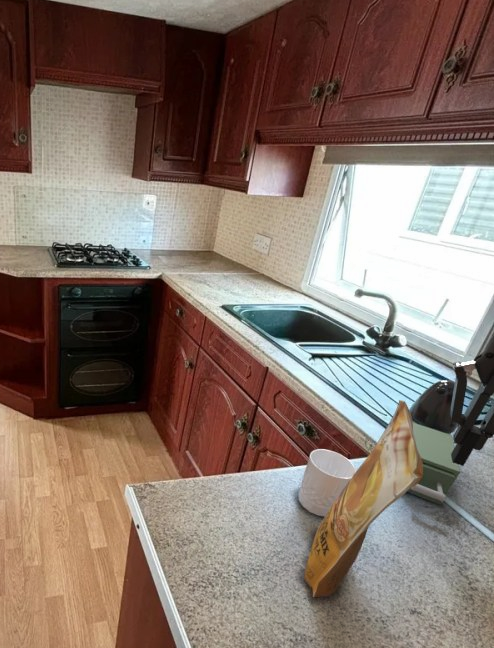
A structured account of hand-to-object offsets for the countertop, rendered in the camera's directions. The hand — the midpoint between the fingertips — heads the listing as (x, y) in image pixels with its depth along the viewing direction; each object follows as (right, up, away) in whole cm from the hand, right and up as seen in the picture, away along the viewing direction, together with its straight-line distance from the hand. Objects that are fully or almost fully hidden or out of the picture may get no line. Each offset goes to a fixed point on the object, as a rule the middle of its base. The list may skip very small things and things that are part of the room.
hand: (457, 459), depth 69 cm
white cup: (-20, -11, +9) cm, 24 cm away
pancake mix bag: (-24, -16, -3) cm, 29 cm away
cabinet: (+6, -8, +19) cm, 22 cm away
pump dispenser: (+21, -2, +35) cm, 41 cm away
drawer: (+4, -9, +15) cm, 18 cm away
